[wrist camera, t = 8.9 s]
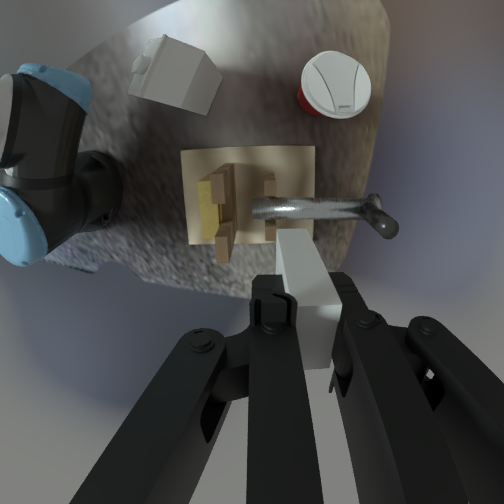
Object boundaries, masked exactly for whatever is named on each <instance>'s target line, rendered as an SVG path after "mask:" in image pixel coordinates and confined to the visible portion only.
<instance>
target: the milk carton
mask: <svg viewBox="0 0 504 504" xmlns="http://www.w3.org/2000/svg"><path fill="white" fill-rule="evenodd" d="M131 70H132V72H133V73H135V75H134V77H133V80H132V82H131V85H130V88H129V90H128V93H127V94H130V95H134V96H137V97H141V98H145V99H149V100H153V101H157V102H160V103H164V104H167V105H171V106H174V107H178V108H181V109H185V110H188V111H191V112H195V113H198V114H201V115H204V116H206V115H207V114H208V111H209V109H210V107H211V104H212V102H213V99H214V97H215V95H216V92H217V90H218V88H219V86H220V83H221V81H222V79H223V76H222V75H221V73H220V72H219V70H218V69H217V68H216V66H215V65H214V64H213V62H212V61H211V59H210V58H209V57H208V55H207V54H206V53H205V51H203V50H201V49H198V48H196V47H193V46H191V45H188V44H186V43H183V42H181V41H178V40H175V39H173V38H170V37H168V36H167V35H166V34H164V35H163V37H162V38H157V39H151V40H150V41H149V43H148V45H147V47H146V49H145V52H144V54H143V55H139V56H138V57H137V58H136V59H135V61H134V63H133V65H132V69H131Z"/></svg>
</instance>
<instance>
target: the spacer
mask: <svg viewBox="0 0 504 504" xmlns="http://www.w3.org/2000/svg"><path fill="white" fill-rule="evenodd" d="M210 174H211V173H208V174H207V175H206V176H204V177H203V178H202V179H200V180H199V181H198V182H197V183H198V195H199V207H200V219H201V229H202V239H211V238H215V235H216V233H217V230H218V228H219V226H220V224H221V222H222V206H221V204H212V198H211V183H210Z"/></svg>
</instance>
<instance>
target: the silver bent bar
mask: <svg viewBox="0 0 504 504" xmlns="http://www.w3.org/2000/svg"><path fill="white" fill-rule="evenodd" d="M252 214H253V220H365V221H366V222H368V223H369V224H370V225H371V226H372V227H373V228H374V229H375V230H376V231H377V232H378V233H379V234H380V235H381V236H382V237H383V238H385V239H392V238H394V237H395V236H396V235H397V233H398V230H399V225H398V223H397V221H395V220H394V219H393V218H391V217H390V216H389V215H387V214H386V213H385V212H383V211H382V201H381V198H380V196H379V195H378V194H373V193H371V194H369V196H368V198H341V197H254V198H252Z"/></svg>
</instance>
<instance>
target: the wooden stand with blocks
mask: <svg viewBox="0 0 504 504" xmlns="http://www.w3.org/2000/svg"><path fill="white" fill-rule="evenodd" d="M181 165H182V178H183V189H184V200H185V210H186V220H187V229H188V238H189V244H215V248H216V260H217V263H229V261H230V257H231V253H232V249H233V245H234V244H241V243H276V232H277V229H307V230H308V232H309V234H310V236H311V238H312V241H313V224H314V220H253V214H252V198H254V197H314V193H315V146H238V147H219V148H204V149H192V150H182V151H181ZM208 173H211V174H210V183H211V198H212V204H221V206H222V222H221V224H220V226H219V228H218V230H217V233H216V235H215V238H211V239H202V229H201V219H200V207H199V195H198V183H197V182H198V181H199V180H200V179H202V178H203V177H204V176H206V175H207V174H208Z"/></svg>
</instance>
